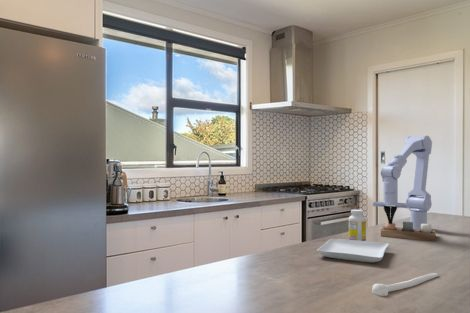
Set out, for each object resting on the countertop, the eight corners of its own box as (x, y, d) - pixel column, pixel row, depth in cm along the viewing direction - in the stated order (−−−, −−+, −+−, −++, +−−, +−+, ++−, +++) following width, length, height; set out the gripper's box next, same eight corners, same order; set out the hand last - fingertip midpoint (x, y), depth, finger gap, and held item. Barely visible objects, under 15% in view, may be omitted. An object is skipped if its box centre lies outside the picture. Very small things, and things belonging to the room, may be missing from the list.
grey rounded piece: (403, 229, 166) (403, 221, 166) (413, 229, 165) (413, 221, 165) (402, 230, 163) (402, 222, 163) (412, 231, 161) (412, 223, 161)
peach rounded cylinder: (386, 230, 170) (386, 222, 170) (395, 231, 168) (395, 223, 168) (385, 231, 166) (385, 223, 166) (395, 232, 164) (395, 224, 164)
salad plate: (315, 259, 128) (315, 249, 128) (330, 246, 147) (330, 237, 147) (382, 267, 118) (382, 257, 118) (389, 252, 137) (389, 243, 137)
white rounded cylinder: (420, 231, 163) (420, 223, 163) (431, 232, 162) (431, 224, 162) (420, 233, 160) (420, 224, 160) (431, 234, 158) (431, 225, 158)
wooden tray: (383, 231, 173) (383, 226, 173) (434, 235, 164) (434, 230, 164) (380, 236, 163) (380, 230, 163) (435, 241, 154) (435, 234, 154)
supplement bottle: (363, 240, 155) (363, 209, 155) (367, 244, 149) (367, 211, 149) (347, 240, 156) (347, 208, 156) (350, 243, 149) (350, 211, 149)
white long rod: (427, 274, 112) (427, 264, 112) (441, 277, 109) (441, 268, 109) (368, 293, 96) (368, 282, 96) (382, 298, 93) (382, 287, 93)
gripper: (372, 192, 166) (372, 223, 166) (408, 194, 160) (408, 226, 160) (373, 191, 173) (373, 221, 173) (408, 192, 166) (408, 223, 166)
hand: (390, 223), depth 167 cm, fingers closed, pressing on peach rounded cylinder
